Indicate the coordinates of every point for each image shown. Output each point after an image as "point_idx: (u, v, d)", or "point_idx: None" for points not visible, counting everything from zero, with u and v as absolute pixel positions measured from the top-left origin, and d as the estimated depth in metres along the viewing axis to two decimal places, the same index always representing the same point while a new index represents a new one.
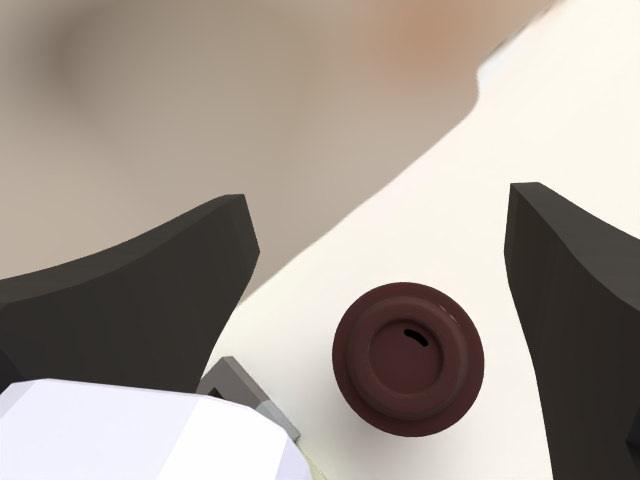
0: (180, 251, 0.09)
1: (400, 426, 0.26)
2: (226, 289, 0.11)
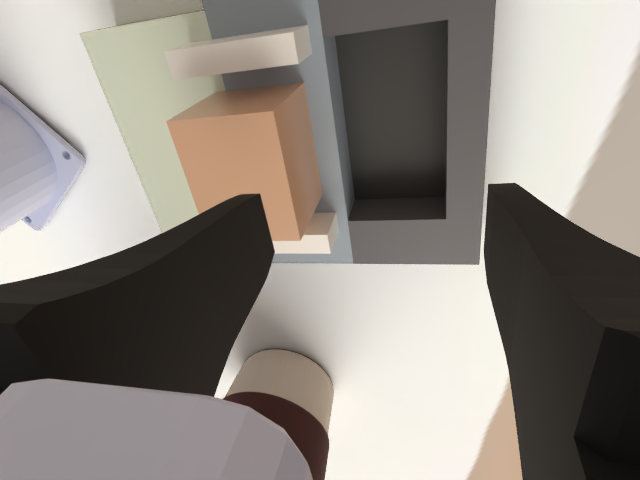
0: (200, 251, 0.09)
1: None
2: (242, 289, 0.11)
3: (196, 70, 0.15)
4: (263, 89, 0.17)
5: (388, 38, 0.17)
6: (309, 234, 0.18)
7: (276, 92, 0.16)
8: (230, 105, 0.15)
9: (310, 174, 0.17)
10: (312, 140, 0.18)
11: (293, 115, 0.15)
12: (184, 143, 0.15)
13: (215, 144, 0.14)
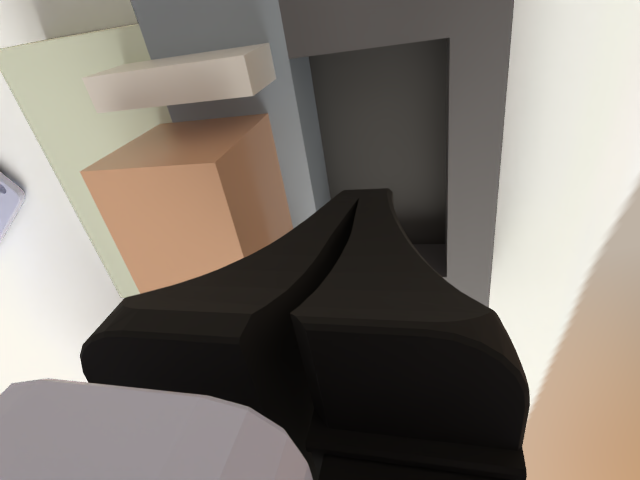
0: (334, 251, 0.08)
1: None
2: None
3: (124, 102, 0.12)
4: (216, 122, 0.13)
5: (374, 57, 0.14)
6: None
7: (230, 129, 0.12)
8: (167, 148, 0.11)
9: (277, 226, 0.14)
10: (281, 183, 0.14)
11: (249, 160, 0.12)
12: (106, 198, 0.11)
13: (145, 201, 0.11)
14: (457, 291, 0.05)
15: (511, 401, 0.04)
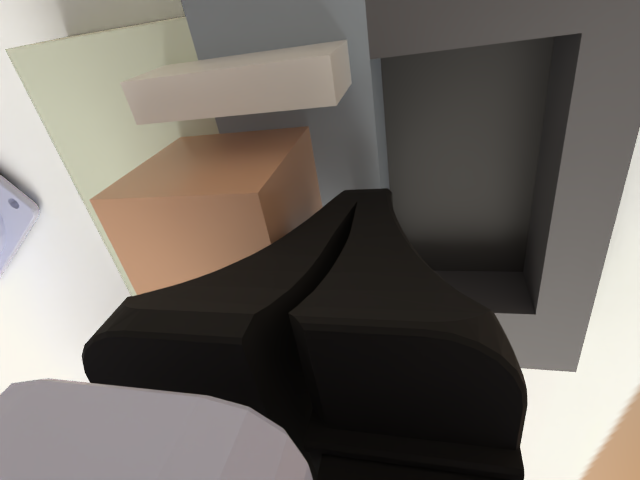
0: (335, 251, 0.08)
1: None
2: None
3: (171, 112, 0.10)
4: (248, 137, 0.11)
5: (461, 57, 0.11)
6: None
7: (266, 145, 0.10)
8: (194, 170, 0.10)
9: None
10: (320, 206, 0.12)
11: (291, 184, 0.10)
12: (120, 231, 0.09)
13: (167, 235, 0.09)
14: (455, 291, 0.05)
15: (509, 400, 0.04)
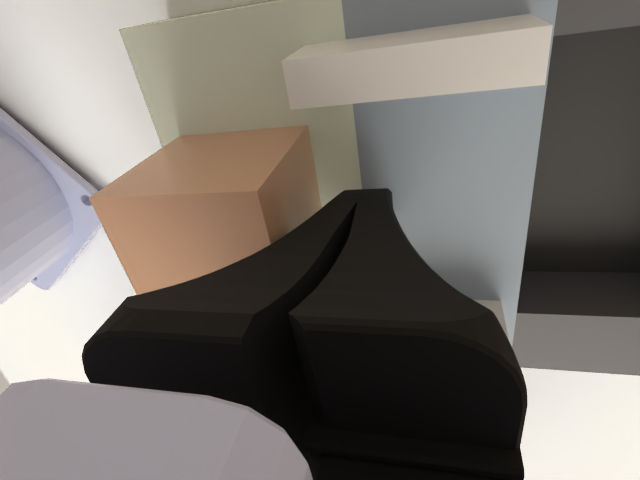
0: (335, 251, 0.08)
1: None
2: None
3: (337, 94, 0.09)
4: (247, 136, 0.11)
5: (627, 37, 0.10)
6: None
7: (265, 144, 0.10)
8: (193, 168, 0.10)
9: None
10: (319, 205, 0.12)
11: (291, 182, 0.10)
12: (120, 229, 0.09)
13: (167, 234, 0.09)
14: (455, 291, 0.05)
15: (509, 401, 0.04)
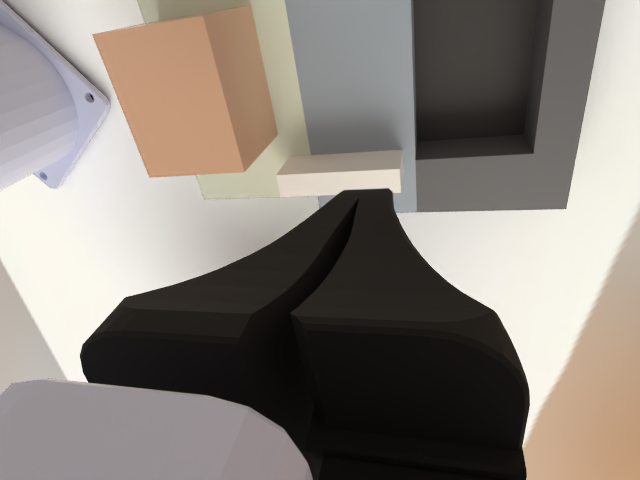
0: (334, 251, 0.08)
1: None
2: None
3: None
4: (207, 12, 0.15)
5: None
6: (377, 169, 0.16)
7: (217, 11, 0.14)
8: None
9: (259, 107, 0.16)
10: (263, 72, 0.16)
11: (233, 33, 0.14)
12: (114, 60, 0.14)
13: (145, 59, 0.13)
14: (457, 291, 0.05)
15: (511, 400, 0.04)
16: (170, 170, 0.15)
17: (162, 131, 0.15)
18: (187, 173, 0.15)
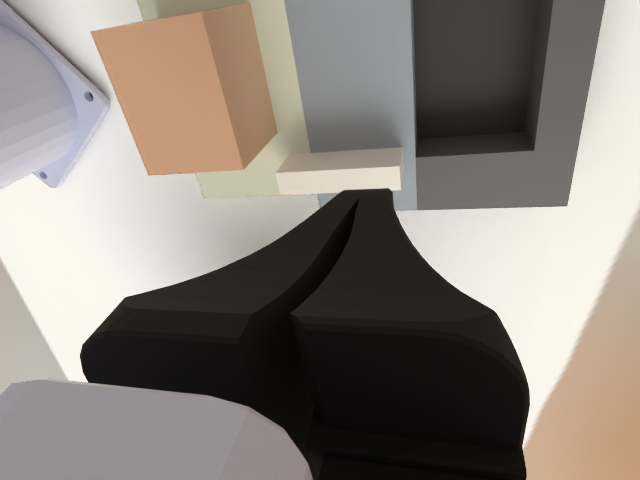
0: (334, 251, 0.08)
1: None
2: None
3: None
4: None
5: None
6: (377, 167, 0.16)
7: (216, 8, 0.14)
8: (163, 18, 0.14)
9: (259, 104, 0.16)
10: (262, 69, 0.16)
11: (232, 30, 0.14)
12: (112, 57, 0.13)
13: (144, 56, 0.13)
14: (457, 291, 0.05)
15: (512, 400, 0.04)
16: (169, 168, 0.15)
17: (161, 129, 0.15)
18: (186, 171, 0.15)
